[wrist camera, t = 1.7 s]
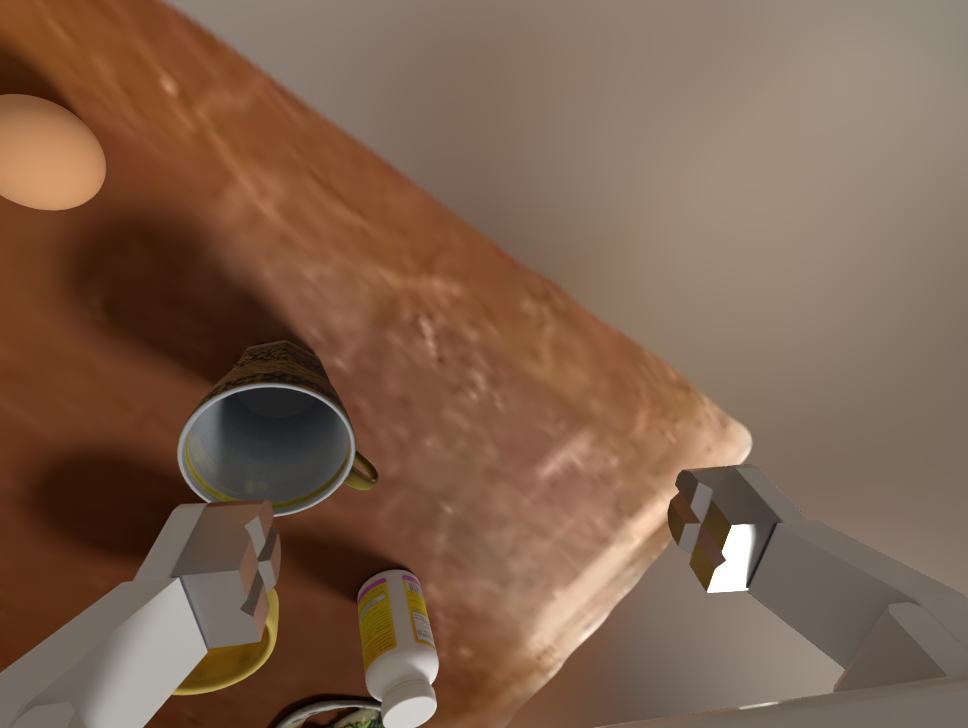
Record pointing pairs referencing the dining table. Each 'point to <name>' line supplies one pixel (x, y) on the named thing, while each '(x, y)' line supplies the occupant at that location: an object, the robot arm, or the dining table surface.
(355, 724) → the avocado toast plate
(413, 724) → the supplement bottle
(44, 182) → the ball
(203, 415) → the ceramic cup
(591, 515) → the dining table surface
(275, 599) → the plant pot
